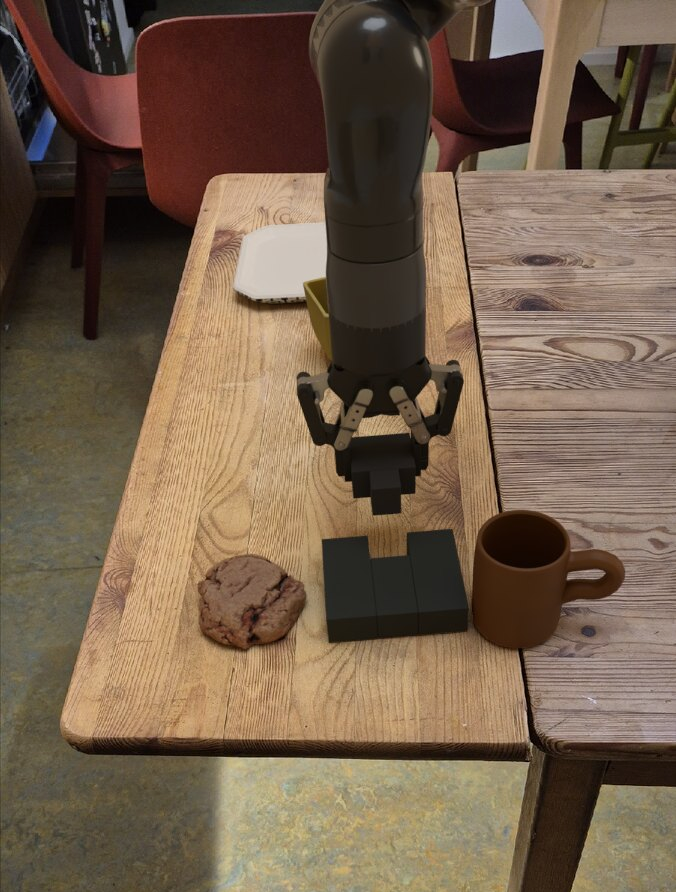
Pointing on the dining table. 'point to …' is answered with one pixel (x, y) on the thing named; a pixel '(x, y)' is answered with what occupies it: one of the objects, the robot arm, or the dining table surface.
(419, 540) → the base pad
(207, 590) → the cookie
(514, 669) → the dining table surface
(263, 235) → the plate
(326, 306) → the flower pot
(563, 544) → the mug
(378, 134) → the robot arm
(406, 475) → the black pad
